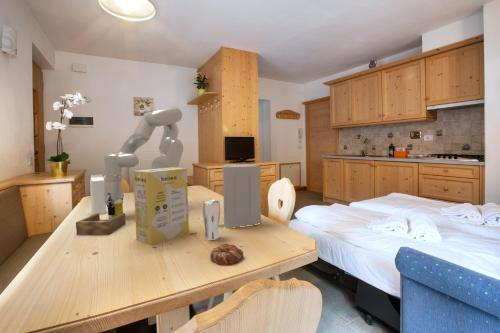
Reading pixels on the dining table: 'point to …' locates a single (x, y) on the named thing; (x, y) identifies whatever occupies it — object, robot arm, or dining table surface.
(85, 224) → the dock
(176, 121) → the robot arm
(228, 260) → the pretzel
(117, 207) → the supplement bottle
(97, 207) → the milk
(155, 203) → the pasta box
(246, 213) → the paper bag
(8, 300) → the dining table surface
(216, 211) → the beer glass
